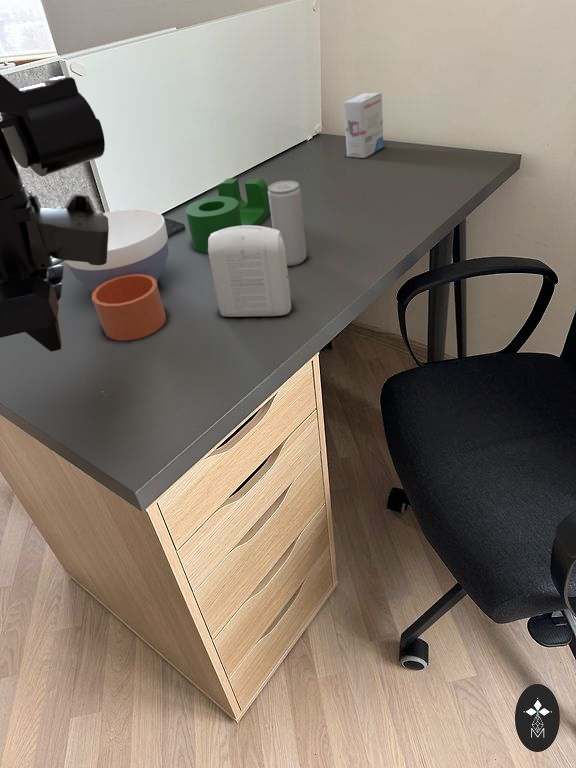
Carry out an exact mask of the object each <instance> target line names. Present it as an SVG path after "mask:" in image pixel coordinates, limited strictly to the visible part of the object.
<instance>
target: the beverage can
mask: <svg viewBox="0 0 576 768" xmlns="http://www.w3.org/2000/svg"><path fill="white" fill-rule="evenodd" d="M267 189H268V196H269V204H270V212H271V213H270V219H271V225H272V227H271V228H273V229H276V230H279V231H280V232H281V235H282V239H283V241H284V245H285V252H286V261H287V267H289V266H290V267H293V266H297V265H300V264H302V263H304V261H305V260H306V258H307V247H306V246H307V245H306V236H305V225H304V224H305V223H304V213H303V202H302V193H301V188H300V184H299V182H298V181H295V180H279V181H276V182H273V183H271V184H270V185H268V186H267Z"/></svg>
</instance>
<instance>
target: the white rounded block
mask: <svg viewBox="0 0 576 768" xmlns="http://www.w3.org/2000/svg"><path fill="white" fill-rule="evenodd" d="M207 254H208V258H209V263H210V267H211V273H212V279H213V283H214V288H215V293H216V298H217V304H218V309H219V313H220V315H221V316H222V317H230V318H231V317H232V318H233V317H237V318H238V317H239V318H240V317H279V316H285V315H286V316H287V314H289V313H290V312H291V310H292V301H291V291H290V290H291V289H290V279H289V270H288V266H287V261H286V252H285V245H284V241H283V239H282V235H281V232H280V231H279V230H276V229H273V227H268V226H264V225H263V226H261V225H259V226H252V225H244V226H234V227H229V228H225V229H222V230H219V231H216V232H214V233H212V234H211V235H210V237H209V238H208V253H207Z"/></svg>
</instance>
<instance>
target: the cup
mask: <svg viewBox="0 0 576 768" xmlns="http://www.w3.org/2000/svg"><path fill="white" fill-rule="evenodd" d="M91 300H92V303H93V304H92V305H93V306H94V309H95V311H96V314H97V317H98V320H99V323H100V325H101V328H102V329H103V332H104V335H106V337H107V338H109V339H111V340H114V341H121V342H122V341H123V342H125V341H134V340H139V339H142V338H146V337H148V336H151V334H154V333H156V332H157V331H158V330H160V329H161V328H162V326H163V325H165V323H166V320H167V315H166V311H165V307H164V303H163V300H162V296H161V293H160V289H159V285H158V282H156V279H154V278H153V277H151V276H149V275H144V274H130V275H124V276H120V277H116V278H114V279H111V280H109V281H106V282H104V283H103V284H101V285H100V286H98V287H97V288H96V289H95V291H92V293H91Z"/></svg>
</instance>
